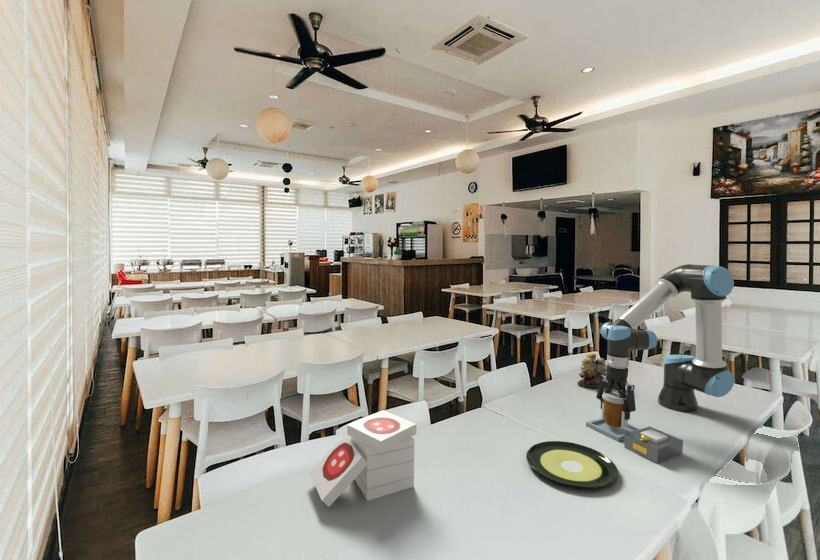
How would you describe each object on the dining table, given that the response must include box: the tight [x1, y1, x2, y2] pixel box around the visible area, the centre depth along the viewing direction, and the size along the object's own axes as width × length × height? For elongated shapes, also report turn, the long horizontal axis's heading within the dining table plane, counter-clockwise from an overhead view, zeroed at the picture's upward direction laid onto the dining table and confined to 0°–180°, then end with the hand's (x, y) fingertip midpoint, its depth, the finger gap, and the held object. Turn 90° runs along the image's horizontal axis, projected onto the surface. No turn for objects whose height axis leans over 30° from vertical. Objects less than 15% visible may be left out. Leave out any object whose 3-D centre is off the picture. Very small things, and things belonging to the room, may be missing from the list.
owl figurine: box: [577, 352, 608, 390], centre depth 209 cm, size 18×12×17 cm, turn 114°
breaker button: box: [640, 429, 668, 443], centre depth 143 cm, size 6×6×6 cm
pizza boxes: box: [309, 409, 417, 508], centre depth 121 cm, size 19×30×18 cm, turn 117°
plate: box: [525, 440, 619, 489], centre depth 132 cm, size 28×28×2 cm
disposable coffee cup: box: [602, 390, 627, 427], centre depth 159 cm, size 10×10×12 cm
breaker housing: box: [623, 426, 684, 464], centre depth 143 cm, size 14×12×7 cm
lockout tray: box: [585, 417, 641, 442], centre depth 159 cm, size 14×14×2 cm
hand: (614, 422), depth 159 cm, fingers closed on disposable coffee cup, 8 cm apart
